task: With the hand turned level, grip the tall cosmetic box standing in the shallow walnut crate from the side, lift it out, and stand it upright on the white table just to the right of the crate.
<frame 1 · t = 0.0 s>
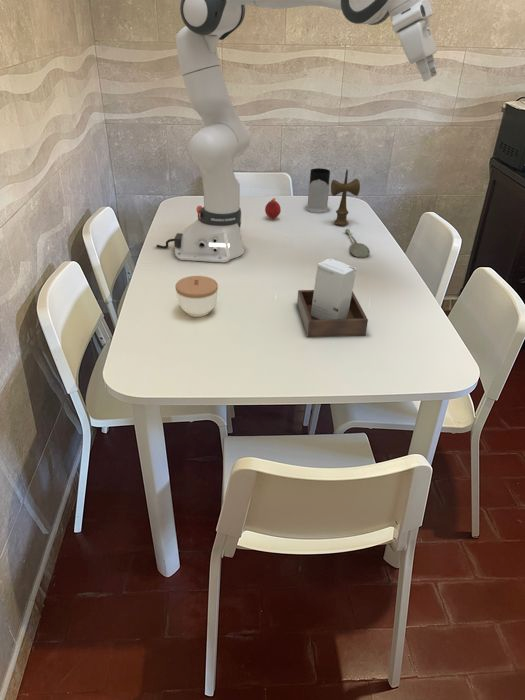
hand: (430, 78, 126), 54 cm above the table, tool tilted 30°, fingers open, 8 cm apart
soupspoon: (353, 245, 181), on the table
crate: (329, 319, 137), on the table
glass holder: (317, 207, 213), on the table
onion: (272, 219, 200), on the table
trinket box: (197, 311, 139), on the table
cosmetic box: (329, 318, 137), resting on crate
kendama: (340, 224, 197), on the table
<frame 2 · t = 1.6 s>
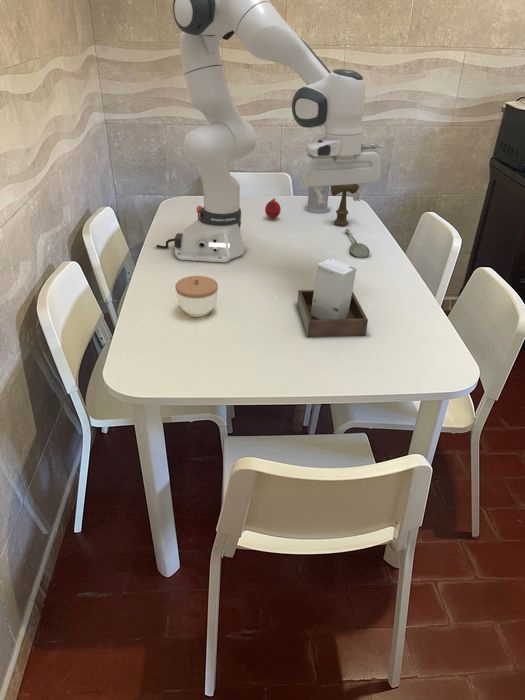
hand: (339, 201, 136), 26 cm above the table, tool pointing down, fingers open, 8 cm apart
nothing on the table moved.
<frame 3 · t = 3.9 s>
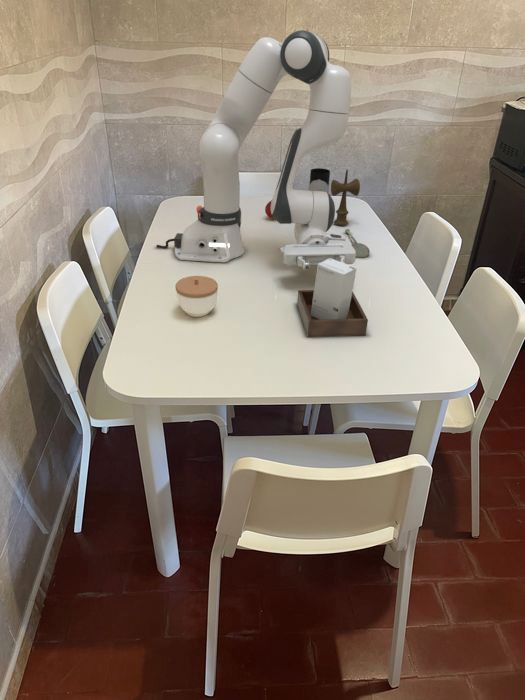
hand: (323, 266, 142), 9 cm above the table, tool horizontal, fingers open, 8 cm apart
nothing on the table moved.
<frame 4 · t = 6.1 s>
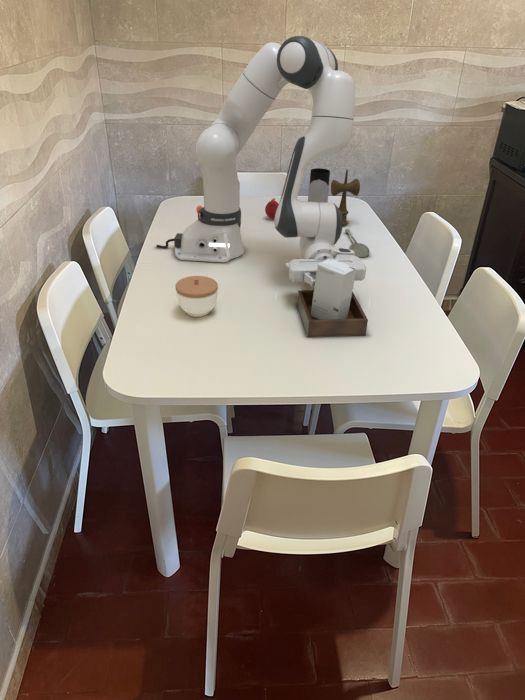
hand: (332, 283, 133), 9 cm above the table, tool horizontal, fingers open, 8 cm apart
cosmetic box: (329, 318, 137), resting on crate, touching gripper
everything else where it was.
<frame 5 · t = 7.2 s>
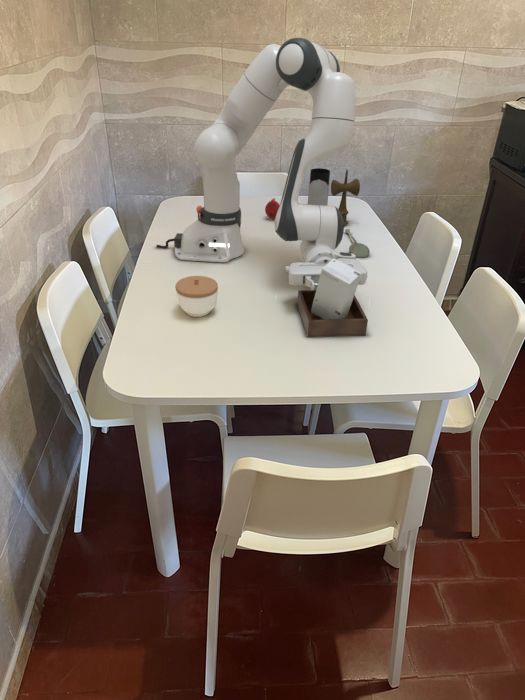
hand: (332, 287, 131), 10 cm above the table, tool horizontal, fingers closed on cosmetic box, 7 cm apart
cosmetic box: (329, 315, 136), point 1 cm above the table, touching crate, gripper
everything else where it was.
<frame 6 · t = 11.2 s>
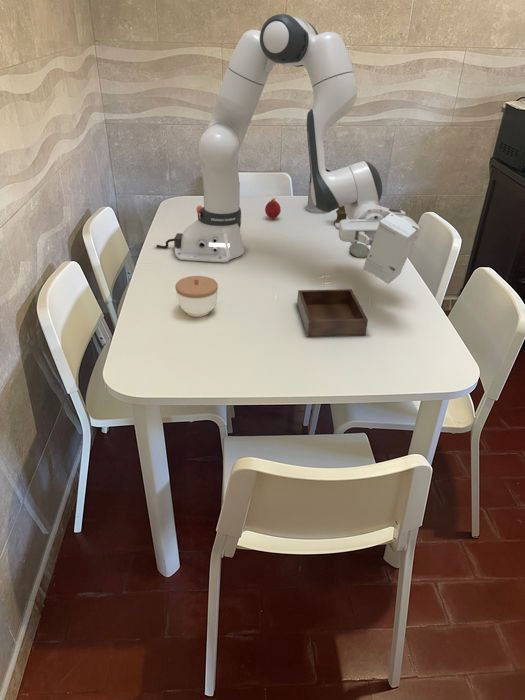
hand: (386, 242, 129), 20 cm above the table, tool horizontal, fingers closed on cosmetic box, 7 cm apart
cosmetic box: (382, 272, 134), point 12 cm above the table, touching gripper
everything else where it was.
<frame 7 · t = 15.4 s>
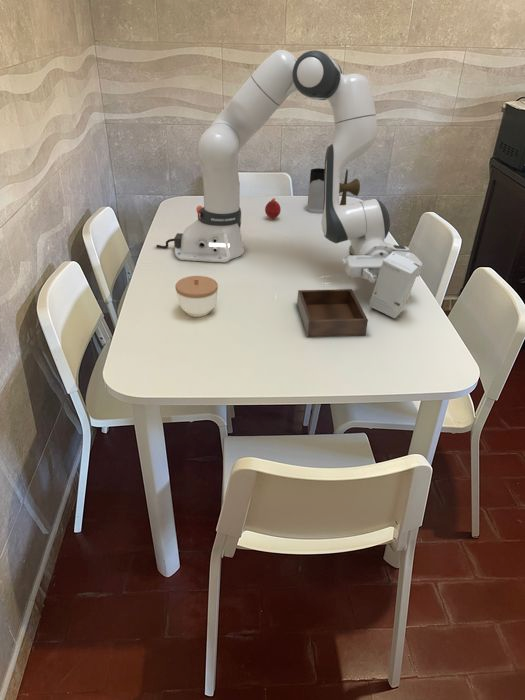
hand: (391, 279, 136), 10 cm above the table, tool horizontal
cosmetic box: (387, 308, 142), point 1 cm above the table, touching gripper
everything else where it was.
when the fingers open (10 cm above the table, at t = 15.7 s): cosmetic box stays where it is, on the table.
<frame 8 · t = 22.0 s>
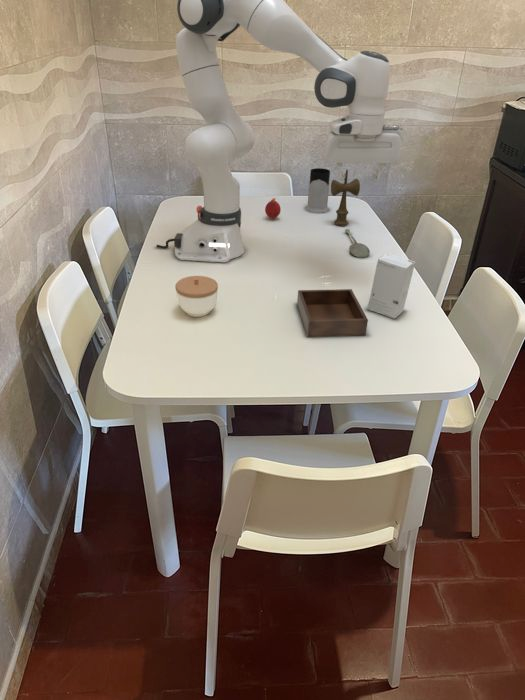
hand: (358, 179, 142), 29 cm above the table, tool pointing down, fingers open, 8 cm apart
cosmetic box: (386, 311, 142), on the table
everything else where it was.
at the end: cosmetic box inside the target area (0.4 cm from its centre), on the table; cosmetic box tilted 0°; cosmetic box touching table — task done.
